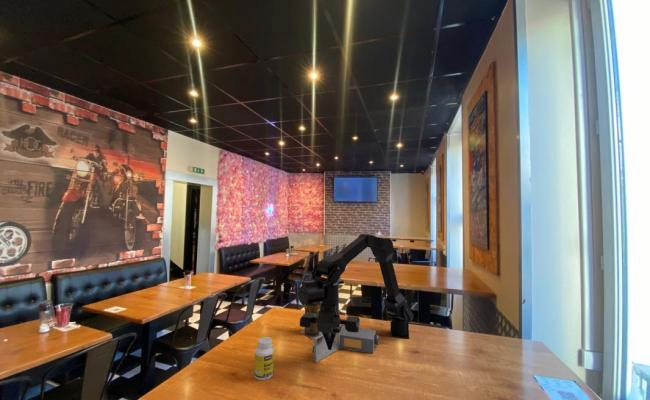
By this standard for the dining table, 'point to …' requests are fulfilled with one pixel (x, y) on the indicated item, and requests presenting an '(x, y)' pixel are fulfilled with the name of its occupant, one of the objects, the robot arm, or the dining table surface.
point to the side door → (323, 347)
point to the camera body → (358, 340)
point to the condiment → (312, 330)
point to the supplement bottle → (264, 359)
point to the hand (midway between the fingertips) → (329, 349)
